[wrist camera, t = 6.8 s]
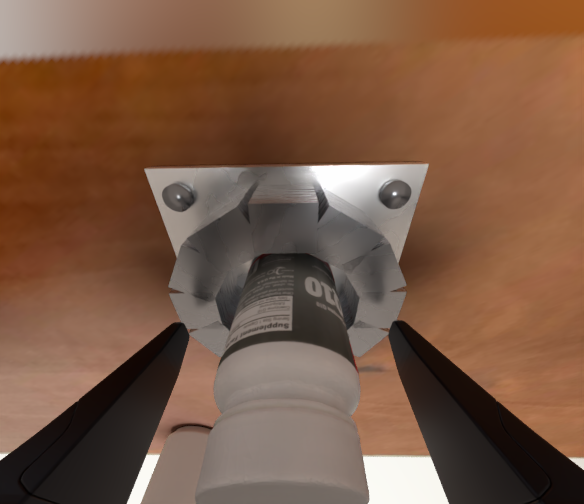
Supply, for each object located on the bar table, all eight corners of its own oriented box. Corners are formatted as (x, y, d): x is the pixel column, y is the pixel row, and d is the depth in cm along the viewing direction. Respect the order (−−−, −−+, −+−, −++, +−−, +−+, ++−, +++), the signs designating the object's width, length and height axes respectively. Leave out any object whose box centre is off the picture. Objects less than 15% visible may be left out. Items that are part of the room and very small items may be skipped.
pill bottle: (343, 291, 12) (410, 517, 5) (274, 315, 14) (253, 528, 6) (311, 226, 10) (352, 464, 3) (231, 262, 11) (128, 495, 4)
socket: (421, 161, 9) (472, 177, 7) (371, 335, 15) (387, 379, 13) (152, 166, 9) (96, 183, 7) (211, 336, 16) (194, 379, 13)
